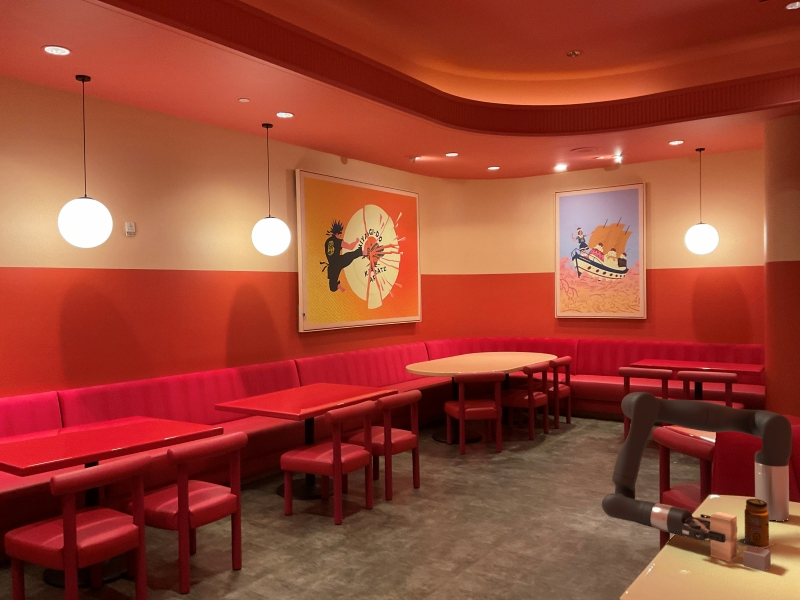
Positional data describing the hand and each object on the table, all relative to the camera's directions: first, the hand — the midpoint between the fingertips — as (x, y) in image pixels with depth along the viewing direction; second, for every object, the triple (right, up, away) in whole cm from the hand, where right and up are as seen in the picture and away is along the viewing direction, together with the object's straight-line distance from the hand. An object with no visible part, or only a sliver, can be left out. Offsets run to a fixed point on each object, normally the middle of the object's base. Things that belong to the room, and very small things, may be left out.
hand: (731, 534), depth 171 cm
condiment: (+12, -6, +10) cm, 17 cm away
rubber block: (+4, -7, -5) cm, 9 cm away
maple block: (-1, -7, +1) cm, 7 cm away
